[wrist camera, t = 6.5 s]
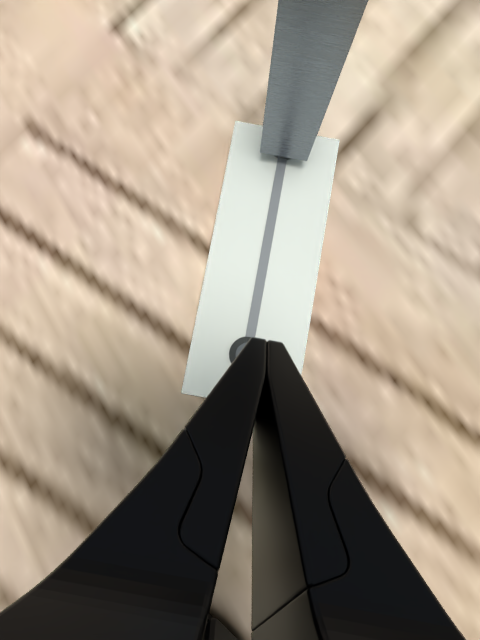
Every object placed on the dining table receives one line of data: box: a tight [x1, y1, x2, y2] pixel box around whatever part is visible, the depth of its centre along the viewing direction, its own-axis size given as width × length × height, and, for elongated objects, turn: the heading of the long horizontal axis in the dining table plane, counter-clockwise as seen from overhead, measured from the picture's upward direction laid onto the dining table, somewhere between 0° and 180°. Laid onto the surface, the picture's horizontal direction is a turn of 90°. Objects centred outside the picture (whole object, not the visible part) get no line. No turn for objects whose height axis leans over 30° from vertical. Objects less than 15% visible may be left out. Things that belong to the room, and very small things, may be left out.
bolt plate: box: [181, 121, 339, 398], centre depth 19 cm, size 18×7×4 cm, turn 170°
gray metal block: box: [260, 0, 368, 161], centre depth 15 cm, size 3×3×11 cm
